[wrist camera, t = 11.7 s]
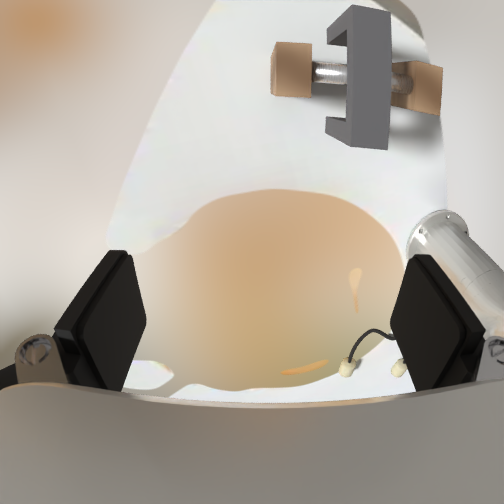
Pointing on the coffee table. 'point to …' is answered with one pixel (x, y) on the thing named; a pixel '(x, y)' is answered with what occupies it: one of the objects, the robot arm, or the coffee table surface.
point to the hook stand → (306, 71)
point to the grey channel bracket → (364, 77)
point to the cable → (350, 363)
